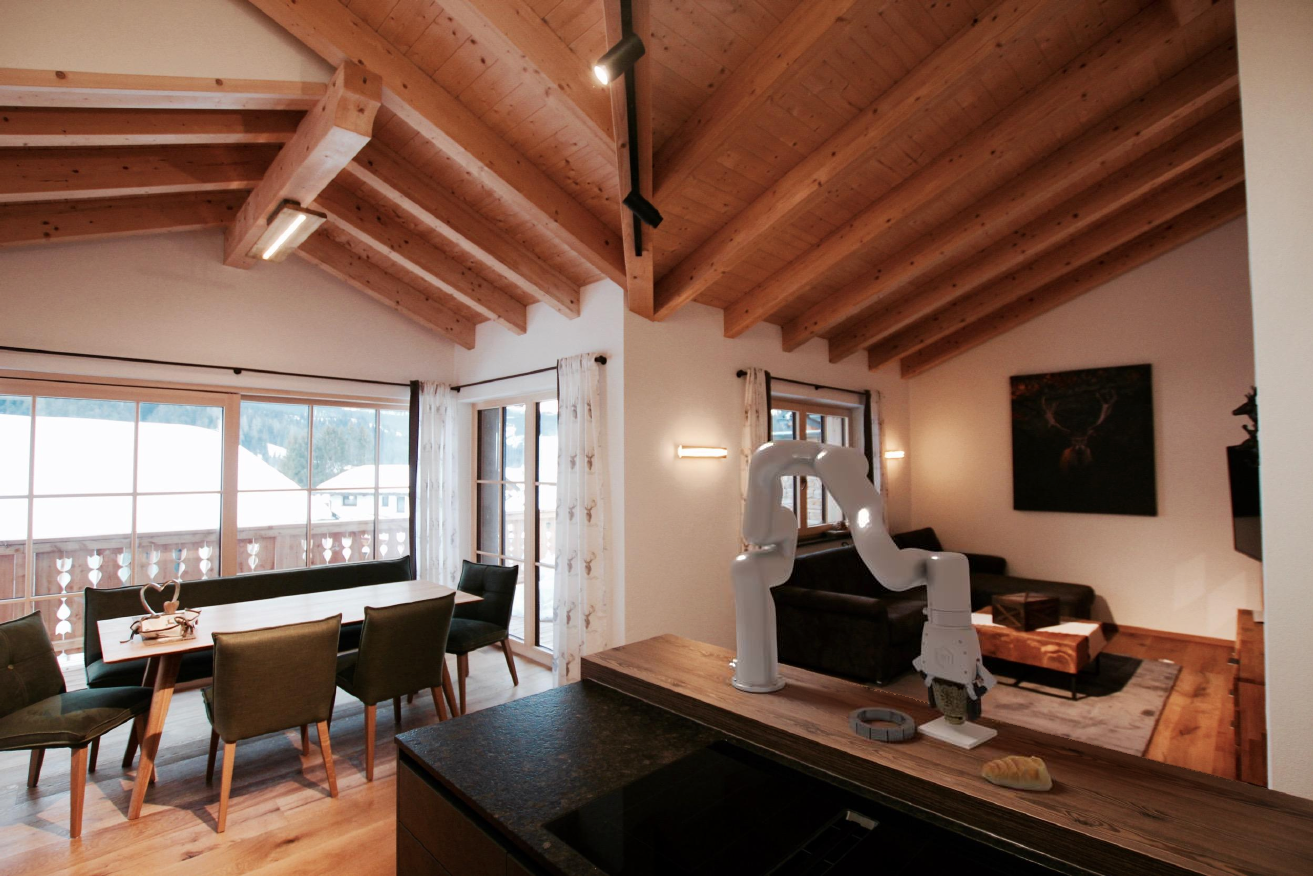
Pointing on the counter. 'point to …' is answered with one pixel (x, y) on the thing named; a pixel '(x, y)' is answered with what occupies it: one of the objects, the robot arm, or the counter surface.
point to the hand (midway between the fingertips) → (954, 712)
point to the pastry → (1018, 773)
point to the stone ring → (881, 732)
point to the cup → (951, 700)
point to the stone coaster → (957, 732)
